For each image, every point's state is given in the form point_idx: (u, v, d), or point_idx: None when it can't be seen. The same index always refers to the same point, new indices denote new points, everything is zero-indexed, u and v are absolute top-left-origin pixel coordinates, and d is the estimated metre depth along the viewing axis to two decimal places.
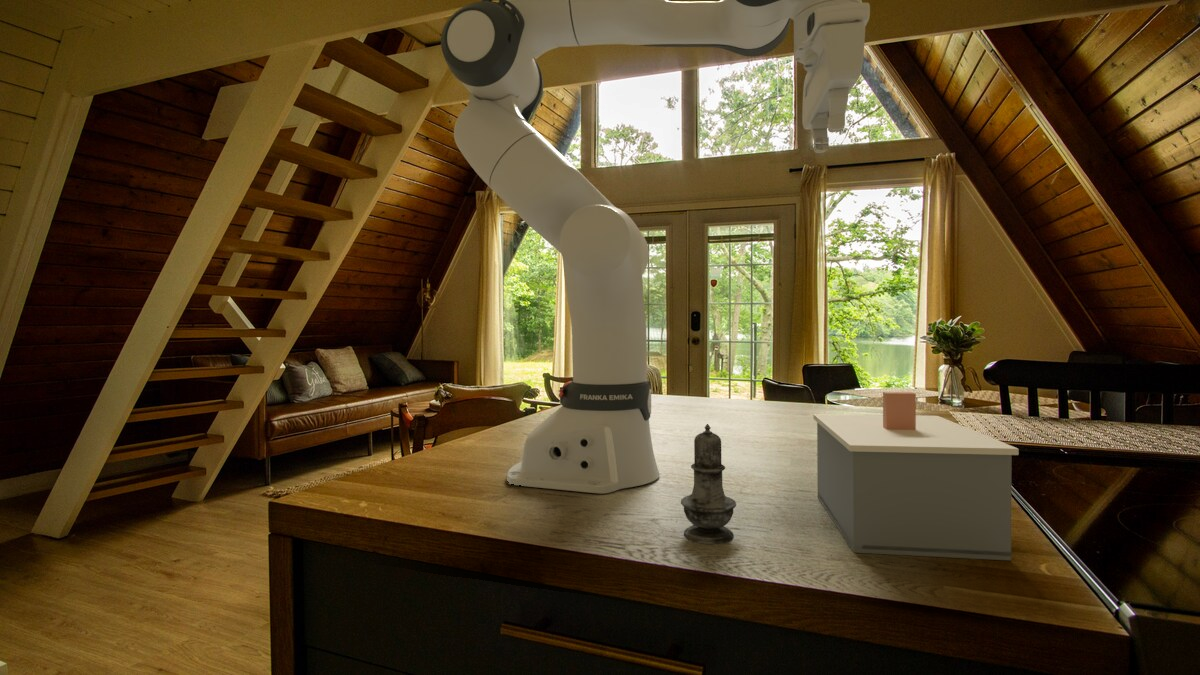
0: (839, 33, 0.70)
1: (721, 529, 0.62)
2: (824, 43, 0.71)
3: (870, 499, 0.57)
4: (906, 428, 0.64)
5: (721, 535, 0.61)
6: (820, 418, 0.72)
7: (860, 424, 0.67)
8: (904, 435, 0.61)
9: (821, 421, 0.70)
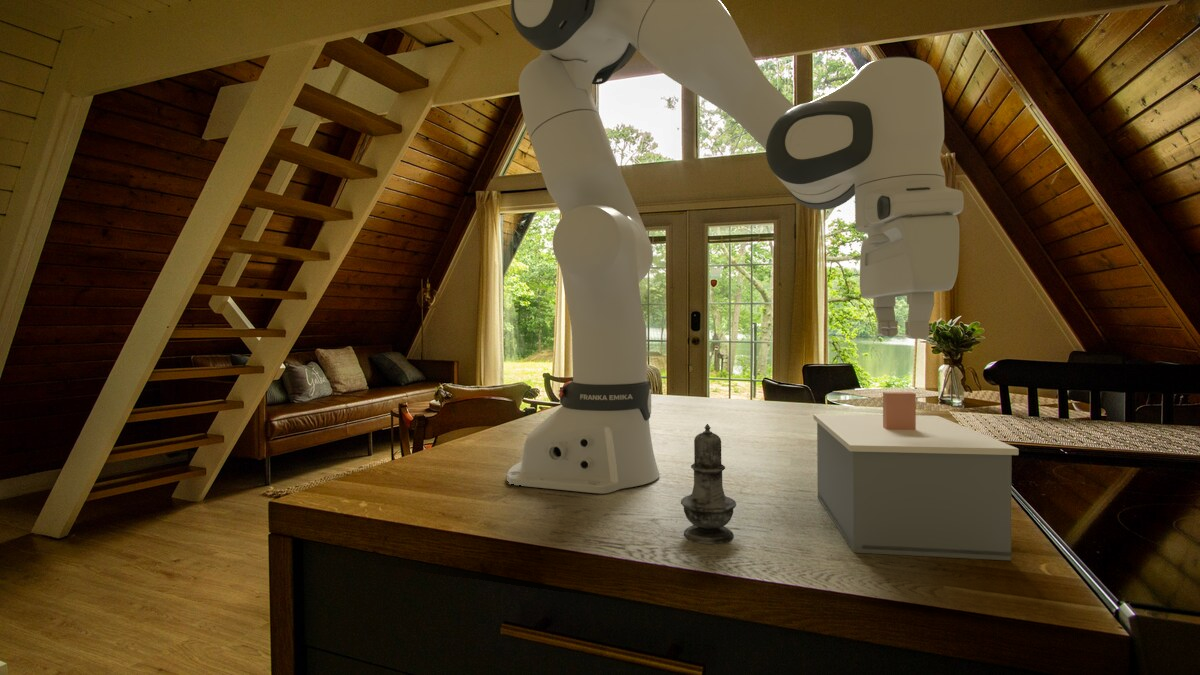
0: (926, 232, 0.55)
1: (721, 529, 0.62)
2: (906, 243, 0.55)
3: (870, 499, 0.57)
4: (906, 428, 0.64)
5: (721, 535, 0.61)
6: (820, 418, 0.72)
7: (860, 424, 0.67)
8: (904, 435, 0.61)
9: (821, 421, 0.70)
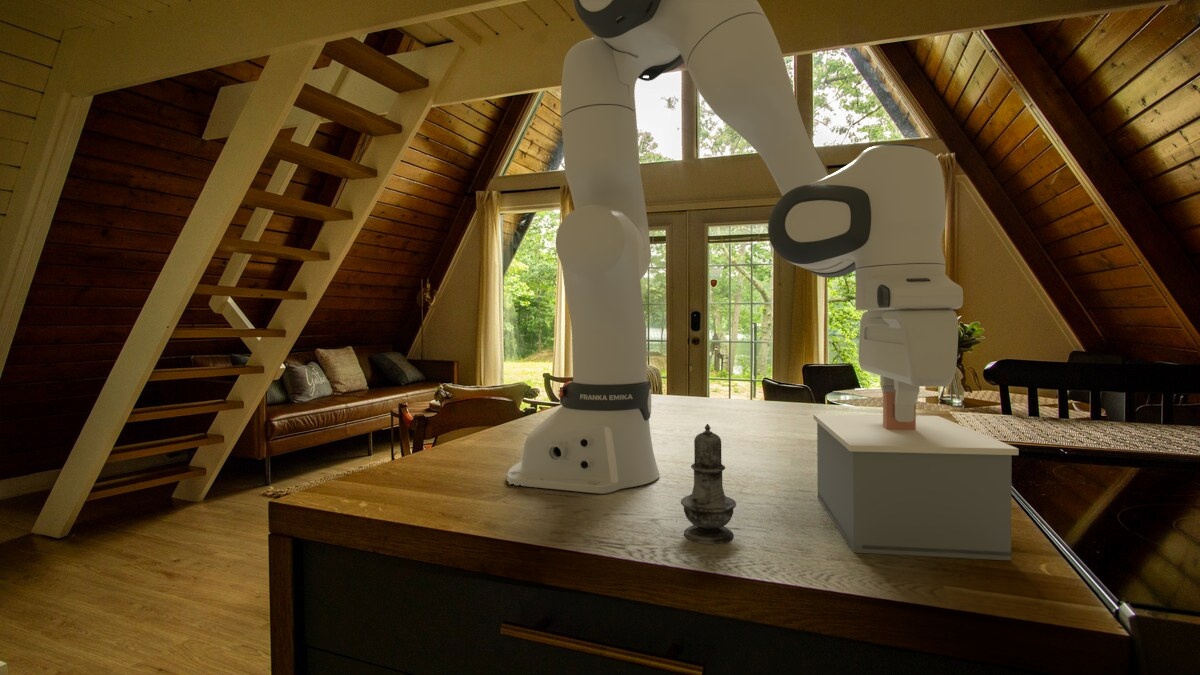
0: (925, 329, 0.55)
1: (721, 529, 0.62)
2: (905, 338, 0.56)
3: (870, 499, 0.57)
4: (906, 428, 0.64)
5: (721, 535, 0.61)
6: (820, 418, 0.72)
7: (860, 424, 0.67)
8: (904, 435, 0.61)
9: (821, 421, 0.70)
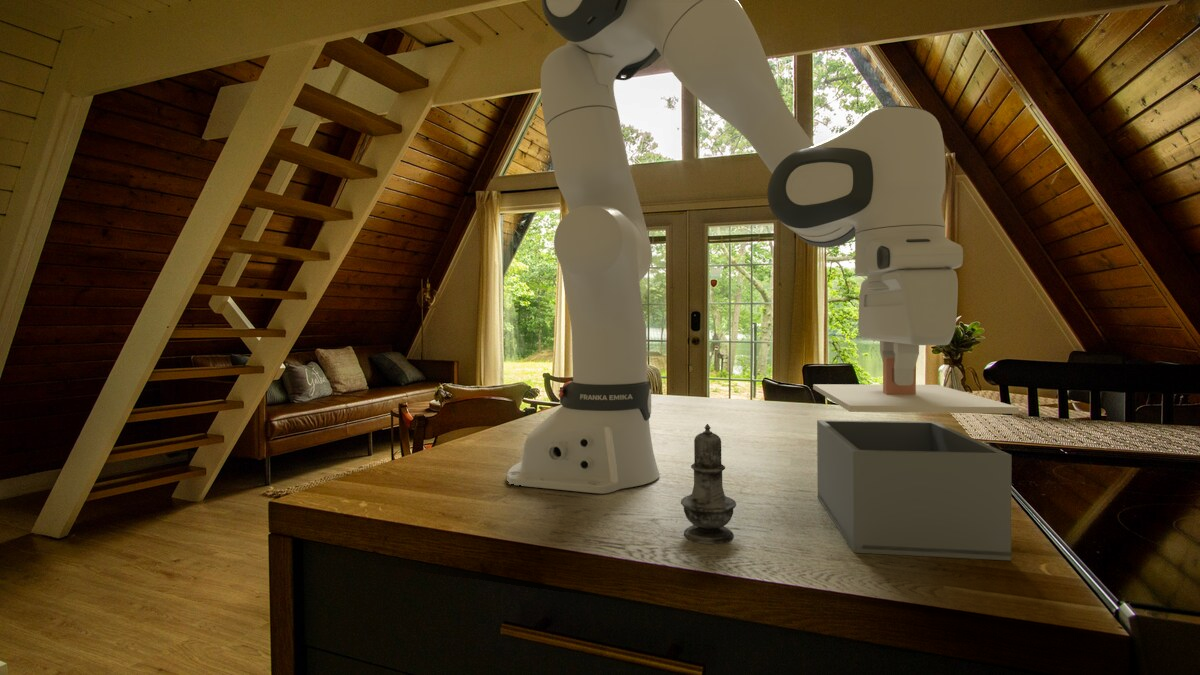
0: (925, 287, 0.55)
1: (721, 529, 0.62)
2: (904, 297, 0.56)
3: (870, 499, 0.57)
4: (906, 393, 0.64)
5: (721, 535, 0.61)
6: (820, 387, 0.72)
7: (860, 391, 0.67)
8: (904, 398, 0.61)
9: (821, 389, 0.70)
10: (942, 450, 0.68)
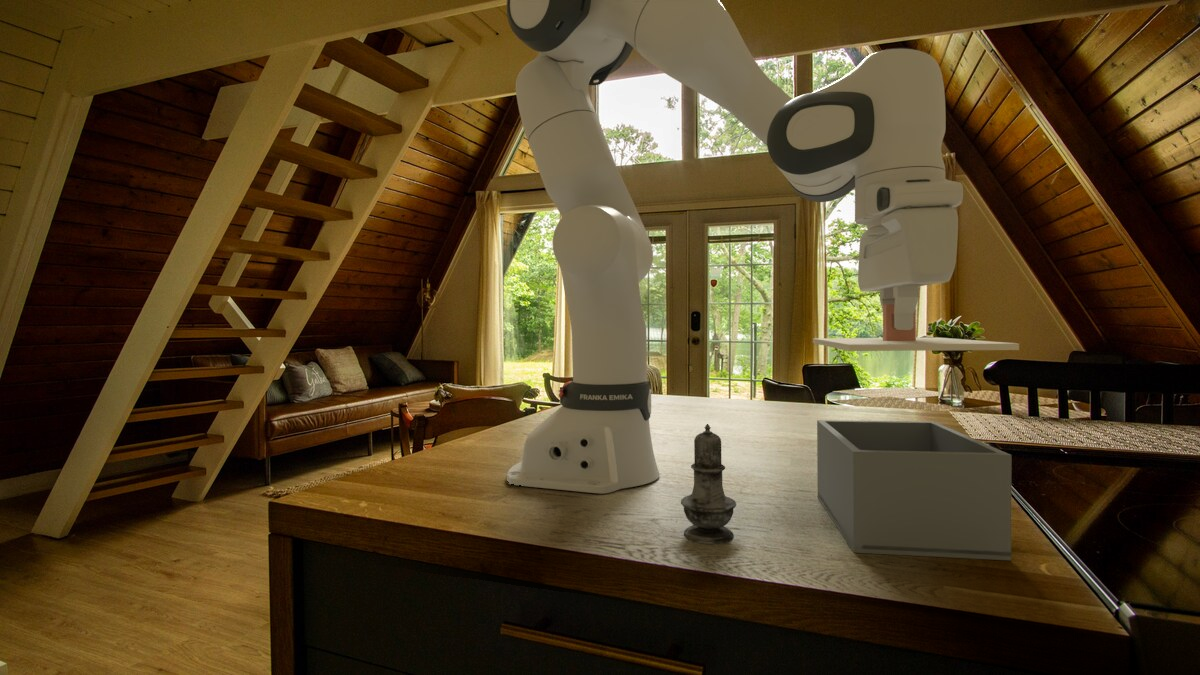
0: (925, 224, 0.55)
1: (721, 529, 0.62)
2: (904, 234, 0.55)
3: (870, 499, 0.57)
4: (906, 339, 0.63)
5: (721, 535, 0.61)
6: (820, 339, 0.71)
7: None
8: None
9: (821, 340, 0.70)
10: (942, 450, 0.68)
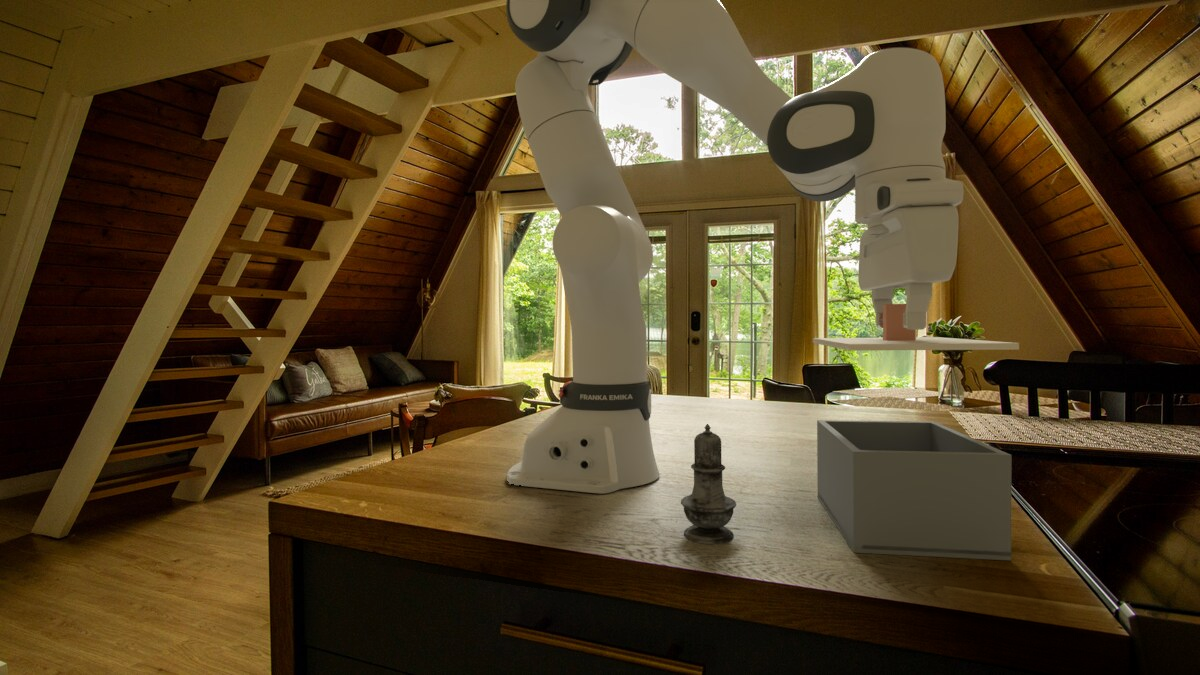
0: (925, 222, 0.55)
1: (721, 529, 0.62)
2: (905, 233, 0.55)
3: (870, 499, 0.57)
4: (906, 339, 0.63)
5: (721, 535, 0.61)
6: None
7: None
8: (904, 341, 0.60)
9: (821, 339, 0.70)
10: (942, 450, 0.68)
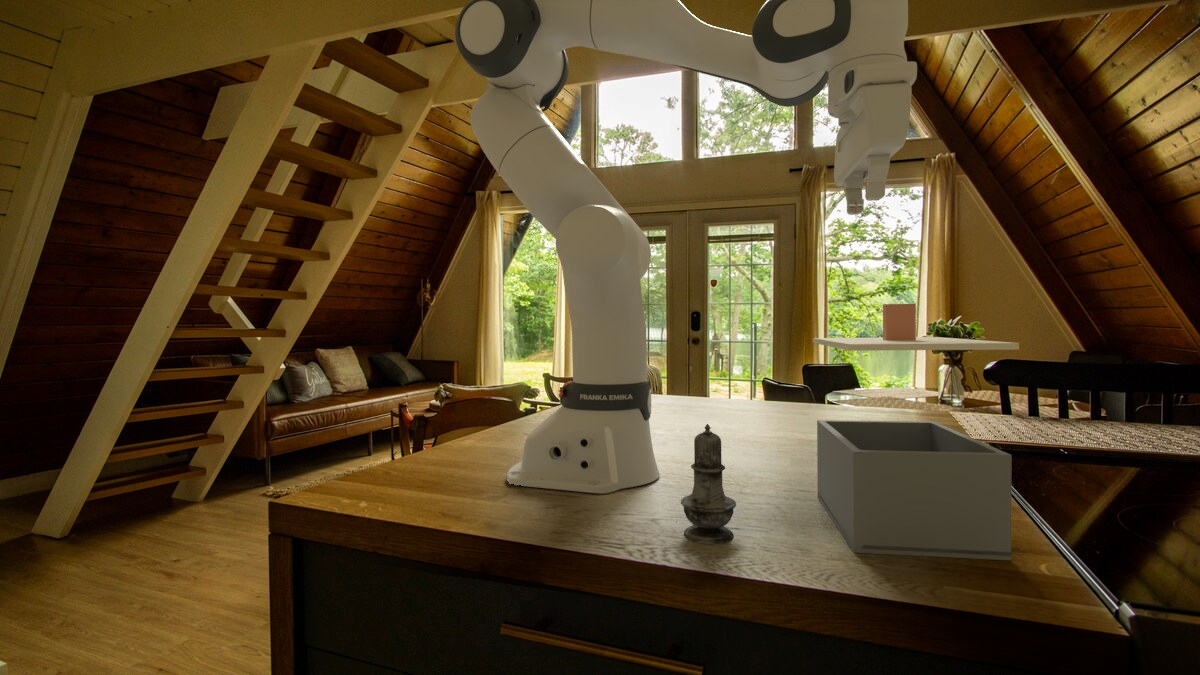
0: (882, 96, 0.62)
1: (721, 529, 0.62)
2: (865, 106, 0.63)
3: (870, 499, 0.57)
4: (906, 339, 0.63)
5: (721, 535, 0.61)
6: None
7: None
8: (904, 341, 0.60)
9: (821, 339, 0.70)
10: (942, 450, 0.68)
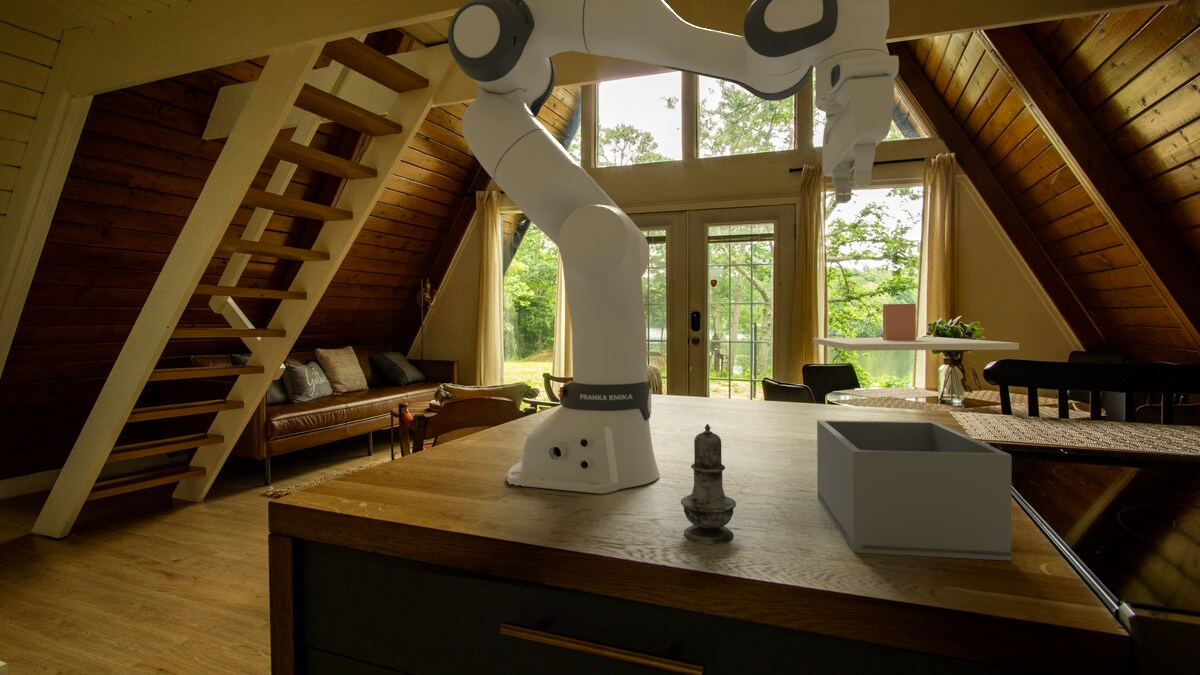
0: (867, 88, 0.66)
1: (721, 529, 0.62)
2: (850, 98, 0.67)
3: (870, 499, 0.57)
4: (906, 339, 0.63)
5: (721, 535, 0.61)
6: None
7: None
8: (904, 341, 0.60)
9: (821, 339, 0.70)
10: (942, 450, 0.68)
